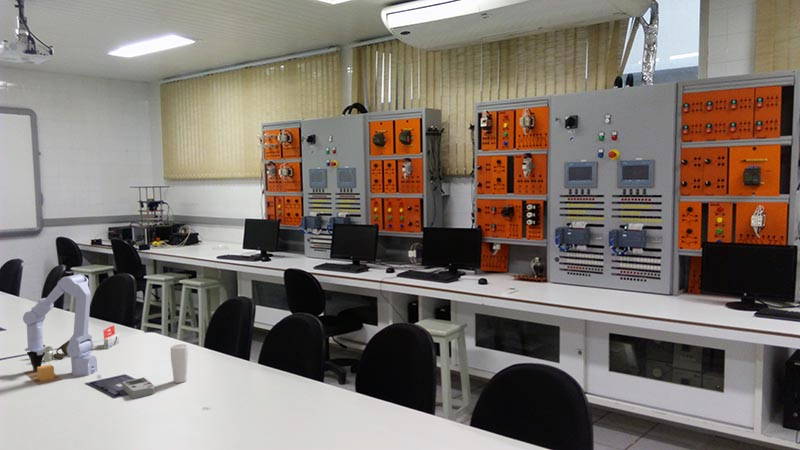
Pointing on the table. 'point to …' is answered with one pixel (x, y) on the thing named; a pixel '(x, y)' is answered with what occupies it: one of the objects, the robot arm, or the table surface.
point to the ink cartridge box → (110, 338)
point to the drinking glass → (179, 362)
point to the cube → (45, 372)
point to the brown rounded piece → (64, 350)
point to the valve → (48, 354)
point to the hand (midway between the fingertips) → (36, 367)
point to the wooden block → (34, 377)
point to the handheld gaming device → (138, 387)
